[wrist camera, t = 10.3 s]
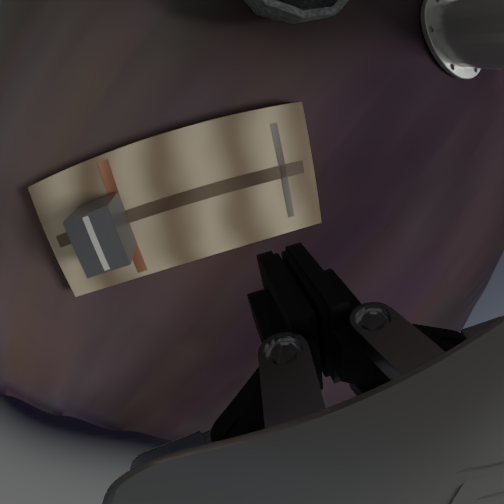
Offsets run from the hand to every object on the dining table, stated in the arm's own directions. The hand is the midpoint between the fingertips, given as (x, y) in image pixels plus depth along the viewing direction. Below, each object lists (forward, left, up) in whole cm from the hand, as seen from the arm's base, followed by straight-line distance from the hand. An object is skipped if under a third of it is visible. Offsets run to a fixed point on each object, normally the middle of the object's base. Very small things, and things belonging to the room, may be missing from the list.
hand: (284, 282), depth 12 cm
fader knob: (+11, 0, -17) cm, 20 cm away
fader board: (+4, 0, -19) cm, 20 cm away
